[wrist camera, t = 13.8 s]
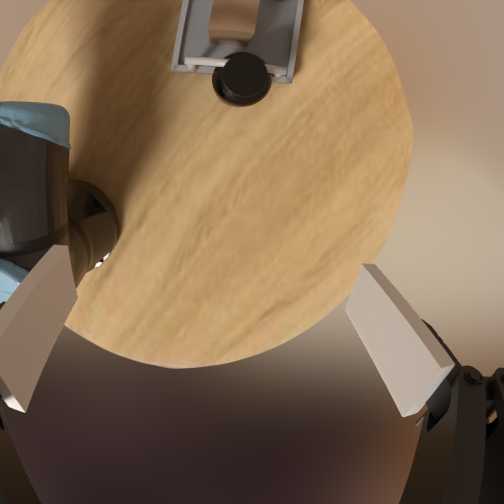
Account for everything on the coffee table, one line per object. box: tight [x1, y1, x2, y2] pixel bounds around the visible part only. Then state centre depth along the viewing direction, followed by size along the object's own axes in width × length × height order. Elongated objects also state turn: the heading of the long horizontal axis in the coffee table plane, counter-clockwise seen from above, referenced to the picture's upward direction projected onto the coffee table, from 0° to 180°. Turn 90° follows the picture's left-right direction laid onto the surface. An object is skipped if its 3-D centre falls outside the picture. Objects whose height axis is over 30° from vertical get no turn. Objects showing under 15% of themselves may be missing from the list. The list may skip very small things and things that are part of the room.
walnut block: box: [208, 0, 260, 47], centre depth 27 cm, size 5×5×8 cm
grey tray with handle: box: [171, 0, 304, 84], centre depth 27 cm, size 16×18×10 cm
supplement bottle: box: [212, 52, 272, 107], centre depth 31 cm, size 7×7×12 cm
